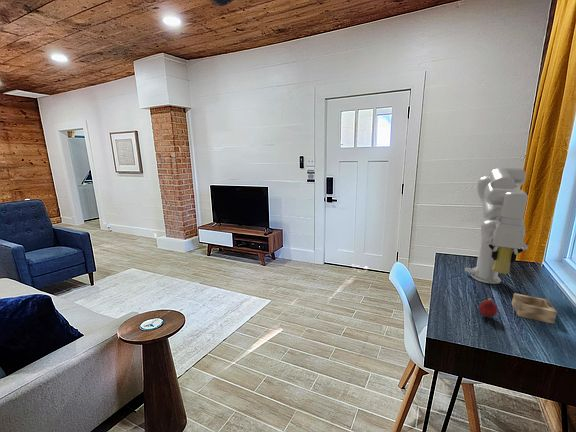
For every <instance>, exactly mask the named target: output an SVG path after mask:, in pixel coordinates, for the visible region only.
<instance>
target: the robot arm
mask: <svg viewBox="0 0 576 432" xmlns="http://www.w3.org/2000/svg"><path fill="white" fill-rule="evenodd" d="M526 179H527V174H526V171H525V169H522V168H518V167H497V168H494V169H492V170H491V171H490V173H489V175H486V176H483V177H480V178H479V179H478V181H477V185H476V187H477V188H476V189H477V193H478V196H479V199H480V202H481V203H482V215H483V219H484V220H485V221H483V222H482V223H481V225H480V242H479V243H480V244H479V249H478V255H477V259H476V260H477V261H476V266H474V267H472V268H470V267H465V268H464V272H468V274H471V275H470V276H471V278H473V279H474V280H476V281H478V282H481V283H484V284H485V283H486V284H489V285H491V284H493V285H497V284H501V281H502V279H501V278H500V277H499V276H498V275H499V273H498V272H495V271H494V270H493V269H492V268H493V264H494V260H496V256H497V249H498V247H506V248H512V249H513V252H512V257H511V263H510V264H514V262H516V260H517V255H519V254H520V253H523V252H525V251H527V250H528V249H529V246H528V245H527V244H526V242H525V241H524V239H525V237H526V227H525V222H524V216H525V212H526V207H527V202H528V198H529V196H528V194H527V193H526V191H524V190H522V189H520V187H521V186H523V184H524V183H525V182H526Z"/></svg>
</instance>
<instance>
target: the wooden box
mask: <svg viewBox="0 0 576 432" xmlns="http://www.w3.org/2000/svg"><path fill="white" fill-rule="evenodd" d="M511 305H512V307H513V309H514V310H515V313H516V315H517V317H521V318H525V319H526V318H527V319H530V320H535V321H540V322H544V323H549V324H553V325H555V322H556V317H557V315H558V312H557V310H556V309H555V308H554V306H553V305H552V304H551V302H550V301H549V300H548V299H547V298H542V297H536V296H530V295H525V294H521V293H517V292H514V293H513V296H512V300H511Z"/></svg>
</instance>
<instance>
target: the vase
mask: <svg viewBox="0 0 576 432" xmlns="http://www.w3.org/2000/svg"><path fill="white" fill-rule="evenodd" d="M512 252H513V249H512V248H506V247H498V249H497V256H496V260H494V264H493V268H492V269H493V270H494V271H495V272H498V274H505V275H508V274H510V268H511V264H512V263H511V257H512Z"/></svg>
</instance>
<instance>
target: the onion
mask: <svg viewBox="0 0 576 432" xmlns="http://www.w3.org/2000/svg"><path fill="white" fill-rule="evenodd" d="M478 309H479V312H480V314H482V316H484V317H485V318H491V317H494V316H496V315H497V313H498V307H497V305H496V303H494V302H493V301H492V299H491V298H488V299H487V300H484V301H481V303H479V305H478Z"/></svg>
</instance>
